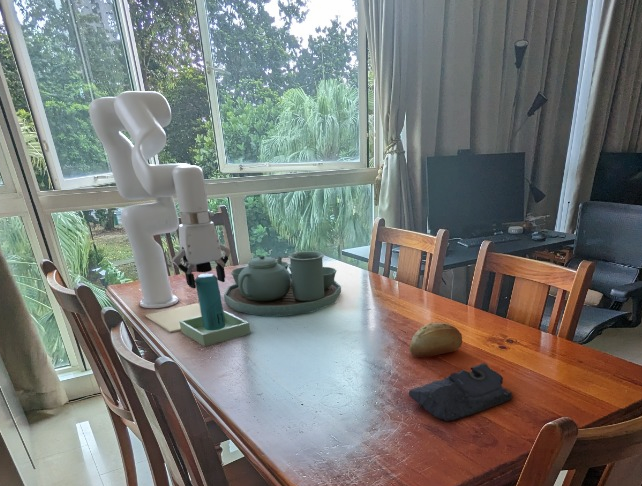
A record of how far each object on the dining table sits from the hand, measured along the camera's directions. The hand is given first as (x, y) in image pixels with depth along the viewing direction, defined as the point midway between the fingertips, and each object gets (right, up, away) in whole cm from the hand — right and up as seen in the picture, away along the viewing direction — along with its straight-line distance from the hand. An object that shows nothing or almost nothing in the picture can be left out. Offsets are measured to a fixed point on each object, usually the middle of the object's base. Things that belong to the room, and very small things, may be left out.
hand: (207, 284), depth 143 cm
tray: (0, -12, +7) cm, 14 cm away
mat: (-12, -5, +20) cm, 24 cm away
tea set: (+16, +5, +35) cm, 39 cm away
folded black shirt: (+65, -34, -30) cm, 79 cm away
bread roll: (+63, -21, -9) cm, 67 cm away
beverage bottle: (0, -12, +7) cm, 14 cm away
